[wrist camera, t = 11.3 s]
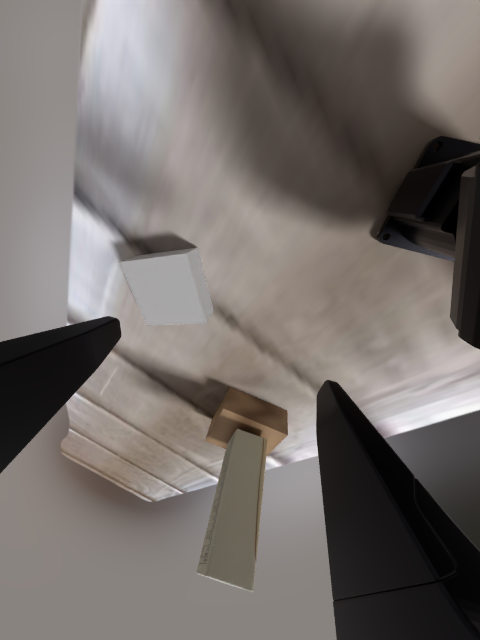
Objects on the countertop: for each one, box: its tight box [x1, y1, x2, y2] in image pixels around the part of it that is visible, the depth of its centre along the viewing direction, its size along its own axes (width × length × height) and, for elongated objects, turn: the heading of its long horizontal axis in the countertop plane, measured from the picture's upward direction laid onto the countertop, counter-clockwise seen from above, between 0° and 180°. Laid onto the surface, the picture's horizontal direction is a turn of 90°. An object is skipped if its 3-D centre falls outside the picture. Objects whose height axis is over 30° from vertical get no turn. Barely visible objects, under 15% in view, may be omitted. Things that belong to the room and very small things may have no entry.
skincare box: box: [197, 429, 268, 592], centre depth 23 cm, size 6×4×12 cm
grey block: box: [119, 247, 213, 326], centre depth 21 cm, size 7×7×3 cm
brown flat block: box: [205, 387, 288, 456], centre depth 30 cm, size 9×9×4 cm
